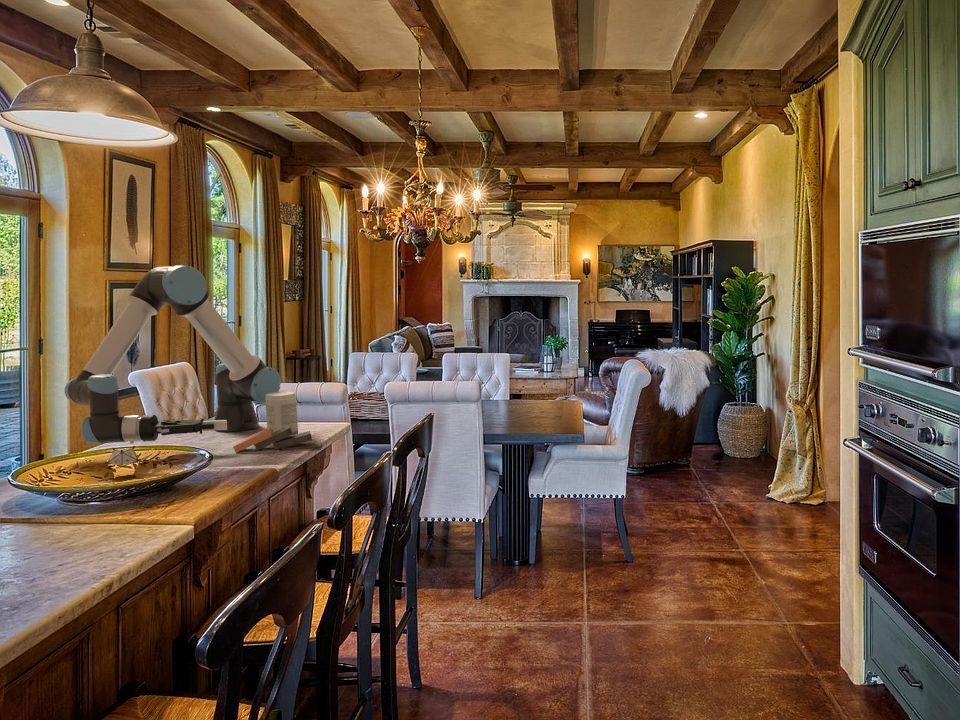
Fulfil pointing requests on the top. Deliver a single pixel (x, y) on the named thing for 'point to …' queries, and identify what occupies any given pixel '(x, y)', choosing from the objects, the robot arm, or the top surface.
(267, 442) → the domino
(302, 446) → the domino
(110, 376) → the robot arm
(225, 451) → the runner board
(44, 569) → the top surface
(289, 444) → the domino
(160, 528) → the top surface
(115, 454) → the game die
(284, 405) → the supplement tub
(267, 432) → the domino
